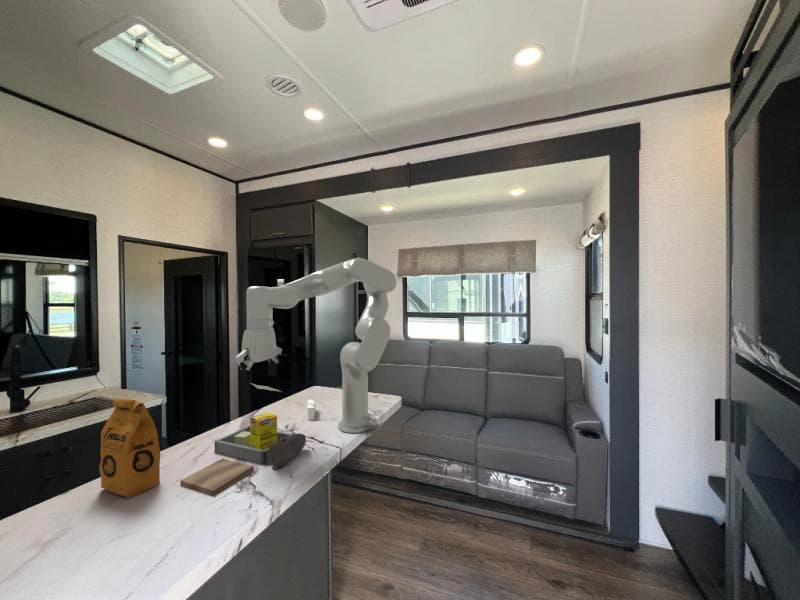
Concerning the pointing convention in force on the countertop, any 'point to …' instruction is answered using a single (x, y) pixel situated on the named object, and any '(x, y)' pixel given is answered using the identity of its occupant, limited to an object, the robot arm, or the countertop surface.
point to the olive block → (242, 438)
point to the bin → (244, 448)
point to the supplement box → (263, 430)
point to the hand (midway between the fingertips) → (260, 378)
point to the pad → (217, 476)
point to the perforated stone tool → (286, 449)
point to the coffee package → (129, 450)
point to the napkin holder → (310, 409)
